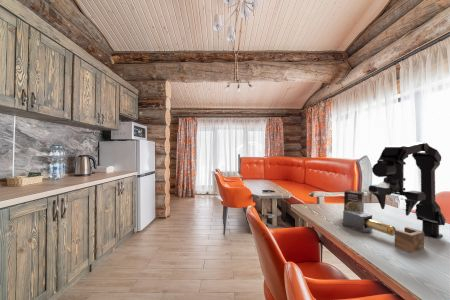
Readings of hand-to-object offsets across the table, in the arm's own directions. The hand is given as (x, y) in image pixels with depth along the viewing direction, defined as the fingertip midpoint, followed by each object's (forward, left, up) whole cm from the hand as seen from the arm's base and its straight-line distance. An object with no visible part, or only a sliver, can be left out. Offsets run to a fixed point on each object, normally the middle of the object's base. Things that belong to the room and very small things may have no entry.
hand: (394, 212), depth 88 cm
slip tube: (-4, -13, -12) cm, 18 cm away
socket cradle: (-4, +3, -14) cm, 15 cm away
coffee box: (-15, -29, -15) cm, 36 cm away
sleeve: (-4, -19, -14) cm, 24 cm away
